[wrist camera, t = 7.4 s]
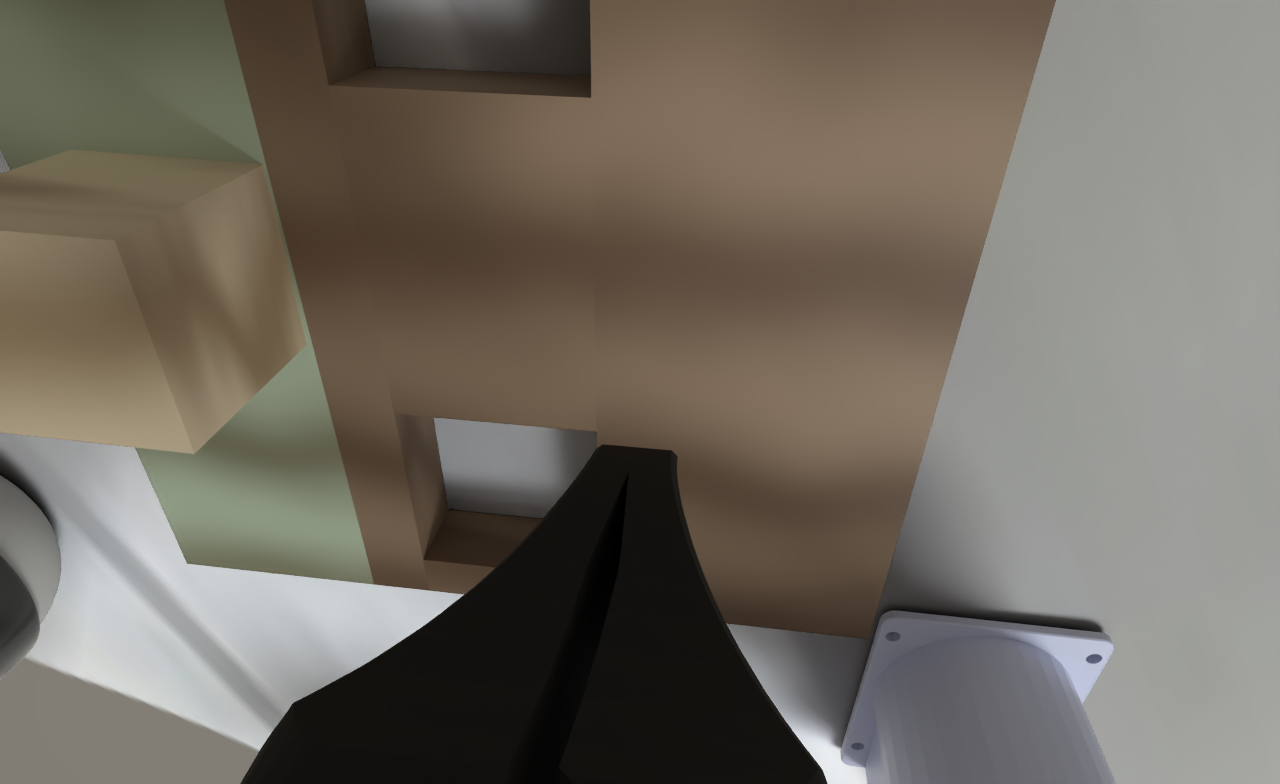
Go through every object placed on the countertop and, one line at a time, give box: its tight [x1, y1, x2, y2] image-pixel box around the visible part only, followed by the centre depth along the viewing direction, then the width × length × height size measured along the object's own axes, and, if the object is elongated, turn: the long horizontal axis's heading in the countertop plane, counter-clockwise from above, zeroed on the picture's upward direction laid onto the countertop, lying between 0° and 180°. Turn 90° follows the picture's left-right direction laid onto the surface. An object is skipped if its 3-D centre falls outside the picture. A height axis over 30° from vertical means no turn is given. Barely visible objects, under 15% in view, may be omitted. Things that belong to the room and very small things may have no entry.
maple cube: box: [0, 149, 307, 454], centre depth 17 cm, size 5×5×5 cm
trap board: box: [0, 0, 1056, 639], centre depth 20 cm, size 24×24×2 cm
